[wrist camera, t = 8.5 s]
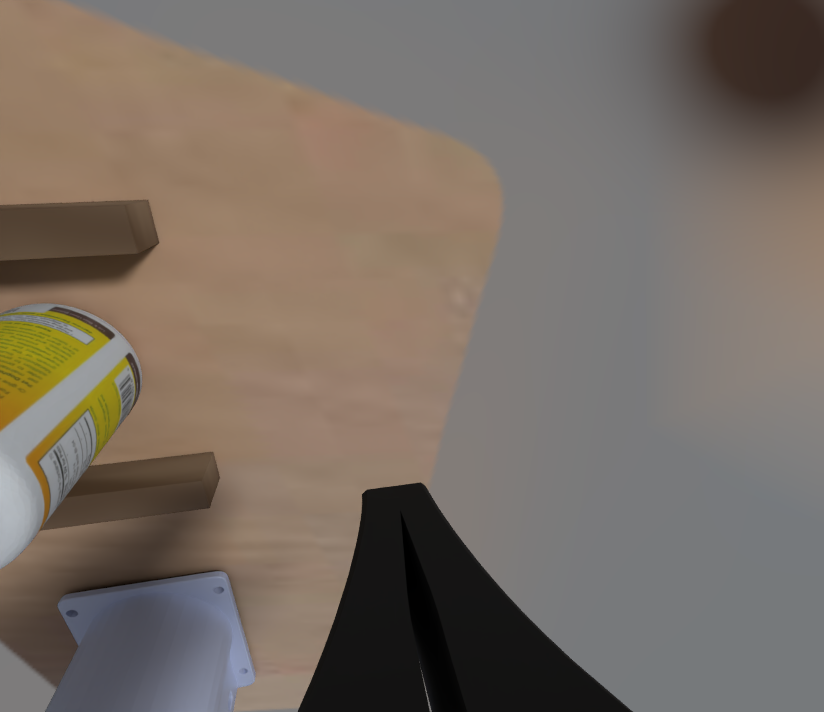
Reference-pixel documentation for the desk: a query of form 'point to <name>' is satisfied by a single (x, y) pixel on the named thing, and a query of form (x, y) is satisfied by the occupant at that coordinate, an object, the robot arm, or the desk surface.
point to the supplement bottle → (55, 409)
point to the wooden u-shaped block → (128, 481)
